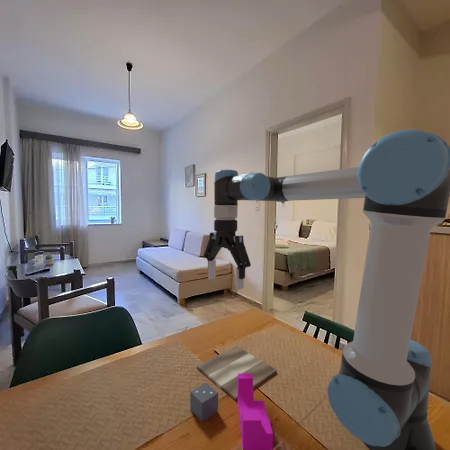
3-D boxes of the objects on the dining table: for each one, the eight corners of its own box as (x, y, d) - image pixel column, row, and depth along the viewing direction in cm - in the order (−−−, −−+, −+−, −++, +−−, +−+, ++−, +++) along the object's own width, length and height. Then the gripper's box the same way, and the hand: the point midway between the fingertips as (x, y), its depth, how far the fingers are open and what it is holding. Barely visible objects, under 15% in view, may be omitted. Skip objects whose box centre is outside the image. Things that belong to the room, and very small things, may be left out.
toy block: (272, 453, 53) (273, 420, 53) (242, 454, 53) (243, 420, 53) (260, 399, 68) (261, 373, 68) (237, 400, 68) (237, 373, 68)
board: (276, 372, 80) (276, 369, 80) (235, 400, 68) (235, 397, 68) (236, 348, 93) (236, 346, 93) (196, 368, 81) (196, 365, 81)
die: (218, 411, 64) (218, 392, 64) (201, 422, 61) (202, 402, 60) (206, 400, 68) (206, 381, 68) (190, 410, 65) (190, 390, 64)
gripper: (263, 220, 75) (261, 290, 76) (210, 217, 93) (210, 274, 95) (245, 221, 70) (244, 296, 71) (194, 217, 88) (193, 277, 90)
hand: (225, 283), depth 83 cm, fingers open, 13 cm apart
